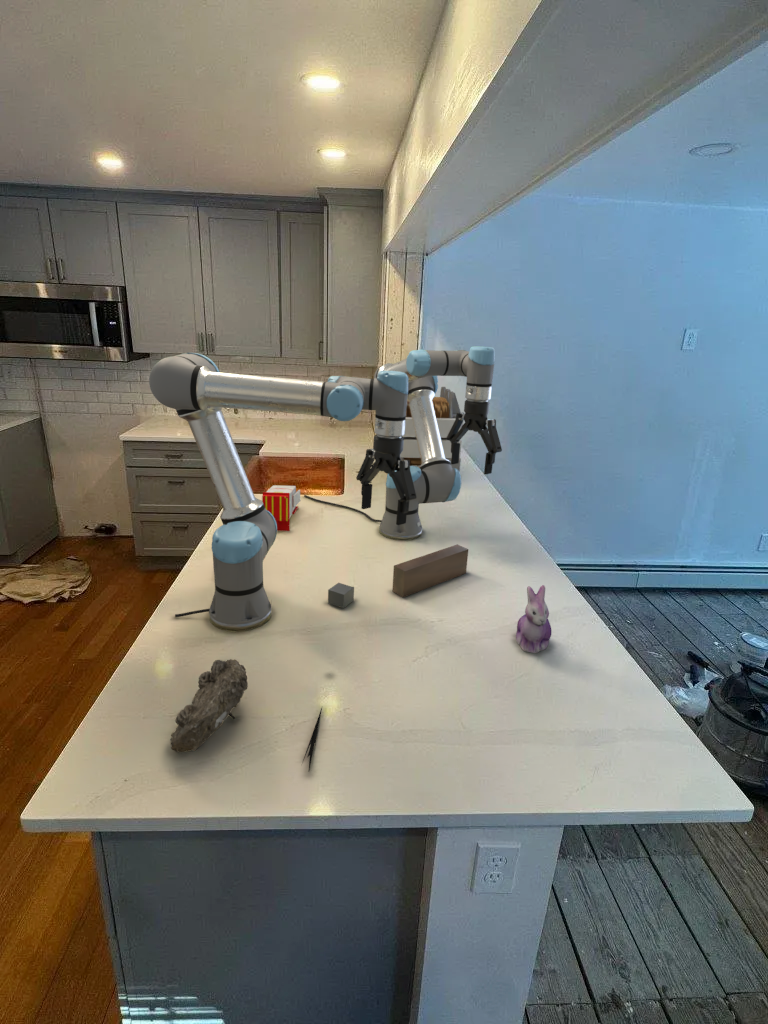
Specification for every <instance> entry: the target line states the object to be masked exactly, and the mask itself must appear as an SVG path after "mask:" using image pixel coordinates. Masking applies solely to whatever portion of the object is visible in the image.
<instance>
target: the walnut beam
mask: <svg viewBox="0 0 768 1024" xmlns="http://www.w3.org/2000/svg"><path fill="white" fill-rule="evenodd" d="M468 558H469V548H468V547H465V546H462V545H460V544H454V545H451V546H449V547H445V548H442V549H440V550H437V551H436V550H435V551H433V552H430V553H427V554H424V555H421V556H419V557H415V558H412V559H409V560H407V561H404V562H403V561H402V562H400V563H398V564H394V565H393V570H392V571H393V573H392V574H393V575H392V592H393V593H394V594H396V595H398V596H399V597H401V598H406V597H409V596H411V595H414V594H416V593H418V592H421V591H424V590H427V589H429V588H432V587H435V586H436V585H439V584H442V583H445V582H447V581H450V580H452V579H455V578H457V577H460V576H463V575H465V574H467V568H468Z"/></svg>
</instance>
